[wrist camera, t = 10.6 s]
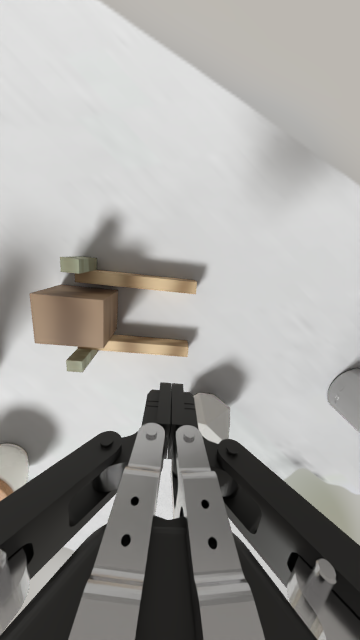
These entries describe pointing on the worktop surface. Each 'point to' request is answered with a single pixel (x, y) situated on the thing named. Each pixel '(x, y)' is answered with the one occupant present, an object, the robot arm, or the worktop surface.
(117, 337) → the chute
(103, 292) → the block
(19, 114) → the worktop surface
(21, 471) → the lidded jar
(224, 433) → the die
